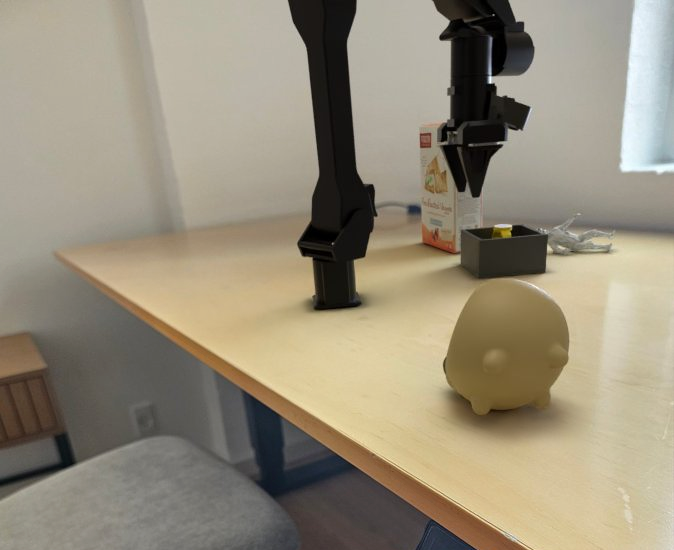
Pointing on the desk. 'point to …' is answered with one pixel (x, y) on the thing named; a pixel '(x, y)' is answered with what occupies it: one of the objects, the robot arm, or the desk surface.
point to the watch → (501, 231)
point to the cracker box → (443, 197)
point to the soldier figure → (574, 238)
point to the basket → (504, 252)
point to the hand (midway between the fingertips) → (468, 194)
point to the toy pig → (507, 346)
